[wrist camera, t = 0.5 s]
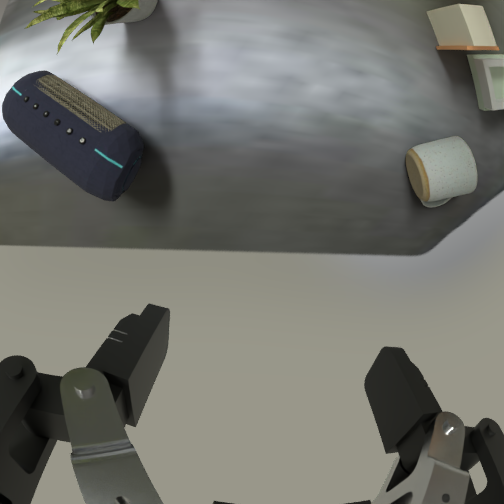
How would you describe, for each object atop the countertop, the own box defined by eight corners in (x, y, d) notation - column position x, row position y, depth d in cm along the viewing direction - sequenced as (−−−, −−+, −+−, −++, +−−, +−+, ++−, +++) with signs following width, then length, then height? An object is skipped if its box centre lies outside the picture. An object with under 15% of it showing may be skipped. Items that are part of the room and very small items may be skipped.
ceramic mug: (397, 141, 30) (422, 162, 24) (446, 128, 27) (478, 146, 21) (410, 208, 36) (431, 239, 30) (454, 194, 33) (479, 221, 27)
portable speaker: (167, 136, 33) (132, 160, 25) (135, 189, 38) (101, 224, 30) (51, 59, 25) (4, 68, 17) (31, 112, 30) (-11, 131, 22)
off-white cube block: (421, 11, 18) (453, 3, 12) (452, 11, 17) (486, 6, 10) (435, 49, 21) (470, 50, 15) (465, 47, 20) (501, 50, 13)
